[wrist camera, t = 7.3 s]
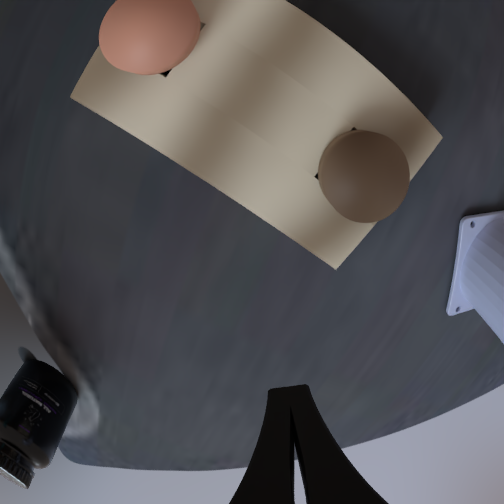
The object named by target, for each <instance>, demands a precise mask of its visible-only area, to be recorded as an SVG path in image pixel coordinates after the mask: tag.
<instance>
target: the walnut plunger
mask: <svg viewBox="0 0 504 504" xmlns="http://www.w3.org/2000/svg"><path fill="white" fill-rule="evenodd" d="M318 180H319V185H320V188H321V190H322V192H323V194H324V196H325V197H326V199H327V200H328V201H329V203H330V204H331V205H332V206H333V207H334V209H335V210H336V211H337V212H338V213H339V214H340V215H342V216H343V217H345V218H347V219H349V220H351V221H354V222H359V223H372V222H377V221H379V220H382V219H384V218H386V217H388V216H389V215H391V214H392V213H393V212H394V211H395V210H396V209H397V208H398V207H399V206H400V204H401V203H402V201H403V200H404V198H405V196H406V193H407V190H408V187H409V181H410V171H409V165H408V162H407V159H406V156H405V154H404V152H403V151H402V149H401V148H400V147H399V146H398V145H397V143H395V142H394V141H393V140H392V139H390V138H389V137H387V136H385V135H383V134H379V133H376V132H371V131H367V130H351V131H348V132H345V133H343V134H340V135H339V136H337V137H336V138H334V139H333V140H332V141H331V142H330V143H329V144H328V145H327V147H326V148H325V150H324V152H323V153H322V155H321V158H320V161H319V166H318Z"/></svg>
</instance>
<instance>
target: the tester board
mask: <svg viewBox="0 0 504 504" xmlns="http://www.w3.org/2000/svg"><path fill="white" fill-rule="evenodd" d="M191 1H192V3H193V5H194V6H195V8H196V10H197V12H198V14H199V18H200V24H201V28H200V30H201V31H200V35H199V38H198V41H197V43H196V45H195V47H194V49H193V50H192V52H191V53H190V54H189V56H188V57H187V58H186V59H185V60H184V61H182V62H181V63H180V64H179V65H177V66H176V67H174V68H172V70H171V71H170V73H169V74H168V75H167V76H166V75H165V74H163V73H159V74H155V75H139V74H135V73H131V72H127V71H124V70H121V69H118V68H116V67H115V66H113V65H112V64H110V63H109V62H108V61H107V59H106V58H105V57H104V55H103V53H102V51H101V48H100V45H99V46H98V48H97V50H96V51H95V53H94V55H93V56H92V58H91V60H90V61H89V63H88V65H87V66H86V68H85V70H84V72H83V74H82V75H81V77H80V79H79V81H78V83H77V85H76V86H75V88H74V90H73V92H72V94H71V96H70V98H72V99H74V100H75V101H77V102H79V103H80V104H82V105H84V106H86V107H87V108H89V109H91V110H92V111H94V112H96V113H97V114H99V115H101V116H102V117H104V118H106V119H107V120H109V121H111V122H112V123H114V124H116V125H117V126H119V127H120V128H122V129H124V130H125V131H127V132H129V133H130V134H132V135H134V136H135V137H137V138H138V139H140V140H142V141H143V142H145V143H146V144H148V145H150V146H151V147H153V148H154V149H156V150H158V151H159V152H161V153H162V154H164V155H166V156H167V157H169V158H170V159H172V160H173V161H175V162H177V163H178V164H180V165H181V166H183V167H184V168H186V169H188V170H189V171H191V172H192V173H194V174H195V175H197V176H198V177H200V178H202V179H203V180H205V181H206V182H208V183H209V184H211V185H212V186H214V187H215V188H217V189H218V190H220V191H221V192H223V193H224V194H226V195H228V196H229V197H231V198H232V199H234V200H235V201H237V202H238V203H240V204H241V205H243V206H244V207H246V208H247V209H249V210H250V211H252V212H253V213H255V214H256V215H258V216H259V217H260V218H262V219H263V220H265V221H266V222H268V223H269V224H271V225H272V226H274V227H275V228H277V229H278V230H280V231H281V232H283V233H284V234H285V235H287V236H288V237H290V238H291V239H293V240H294V241H296V242H297V243H299V244H300V245H301V246H303V247H304V248H306V249H307V250H309V251H310V252H312V253H313V254H314V255H316V256H317V257H319V258H320V259H322V260H323V261H324V262H326V263H327V264H329V265H330V266H331V267H333V268H334V269H337V268H338V267H339V266H340V264H341V263H342V262H343V261H344V260H345V259H346V258H347V256H348V255H349V254H350V253H351V252H352V251H353V250H354V248H355V247H356V246H357V245H358V244H359V243H360V242H361V240H362V239H363V238H364V237H365V236H366V235H367V233H368V232H369V231H370V230H371V229H372V227H373V226H374V225H375V224H376V223H377V222H372V223H359V222H354V221H351V220H349V219H347V218H345V217H343V216H342V215H340V214H339V213H338V212H337V211H336V210H335V209H334V207H333V206H332V205H331V204H330V203H329V201H328V200H327V199H326V197H325V196H324V194H323V192H322V190H321V188H320V185H319V180H318V177H317V176H316V174H317V173H318V166H319V161H320V158H321V155H322V153H323V152H324V150H325V148H326V147H327V145H328V144H329V143H330V142H331V141H332V140H333V139H334V138H336V137H337V136H339V135H340V134H343V133H345V132H348V131H351V130H367V131H371V132H376V133H379V134H383V135H385V136H387V137H389V138H390V139H392V140H393V141H394V142H395V143H397V145H398V146H399V147H400V148H401V149H402V151H403V152H404V154H405V156H406V159H407V162H408V165H409V171H410V180H411V179H412V178H413V177H414V175H415V174H416V173H417V171H418V170H419V169H420V167H421V166H422V165H423V164H424V162H425V161H426V160H427V158H428V157H429V156H430V154H431V153H432V152H433V150H434V149H435V147H436V146H437V145H438V143H439V142H440V141H441V139H442V138H443V137H442V136H441V135H440V134H439V132H438V131H437V130H436V129H435V128H434V127H433V125H432V124H431V123H430V122H429V121H428V120H427V119H426V117H425V116H424V115H423V114H422V113H421V112H420V111H419V110H418V109H417V108H416V107H415V106H414V104H413V103H412V102H411V101H410V100H409V99H408V98H407V97H406V96H405V95H404V94H403V93H402V92H401V91H400V90H399V89H398V88H397V87H396V86H395V85H394V84H393V83H392V82H391V81H389V80H388V79H387V78H386V77H385V76H384V75H383V74H382V73H381V72H380V71H379V70H378V69H376V68H375V67H374V66H373V65H372V64H371V63H370V62H369V61H367V60H366V59H365V58H364V57H363V56H362V55H360V54H359V53H358V52H357V51H356V50H354V49H353V48H352V47H351V46H349V45H348V44H347V43H346V42H344V41H343V40H342V39H341V38H339V37H338V36H337V35H335V34H334V33H333V32H331V31H330V30H329V29H327V28H326V27H325V26H323V25H322V24H320V23H319V22H318V21H316V20H315V19H313V18H312V17H310V16H309V15H307V14H306V13H304V12H303V11H301V10H300V9H298V8H297V7H295V6H294V5H292V4H290V3H289V2H287V1H286V0H191ZM409 182H410V181H409Z"/></svg>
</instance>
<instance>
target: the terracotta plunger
mask: <svg viewBox="0 0 504 504" xmlns="http://www.w3.org/2000/svg"><path fill="white" fill-rule="evenodd" d="M200 28H201V24H200V18H199V14H198V12H197V10H196V8H195V6H194V5H193V3H192V1H191V0H117V1H116V2H115V3H114V4H113V5H112V6H111V7H110V9H109V10H108V12H107V13H106V15H105V17H104V19H103V21H102V24H101V27H100V31H99V44H100V48H101V51H102V53H103V55H104V57H105V58H106V59H107V61H108V62H109V63H110V64H112V65H113V66H115V67H116V68H118V69H121V70H124V71H127V72H131V73H135V74H139V75H155V74H159V73H163V72H166V71H168V70H170V69H172V68H174V67H176V66H177V65H179V64H180V63H181V62H182V61H184V60H185V59H186V58H187V57H188V56H189V54H190V53H191V52H192V50H193V49H194V47H195V45H196V43H197V41H198V38H199V35H200Z"/></svg>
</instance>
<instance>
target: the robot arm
mask: <svg viewBox="0 0 504 504" xmlns="http://www.w3.org/2000/svg"><path fill="white" fill-rule="evenodd" d="M472 221H473V222H472ZM471 222H472V224H471ZM470 224H471V225H470ZM471 309H475V310H476V311H477V312H478V313H479V314H480V316H481V317H482V318H483V319H484V320H485V321H486V323H487V324H488V325H489V326H490V327H491V329H492V330H493V331H494V332H495V333H496V335H497V336H498V337H499V338H500V340H501V341H502V342H503V343H504V210H503V211H497V212H490V213H483V214H477V215H470V216H465V217H463V218H462V219H461V221H460V227H459V236H458V245H457V252H456V260H455V266H454V272H453V278H452V284H451V289H450V295H449V299H448V304H447V309H446V312H447V313H448V315H450V316H452V315H455V314H458V313H462V312H465V311H468V310H471ZM294 443H295V447H296V452H297V457H298V462H299V466H300V471H301V476H302V480H303V485H304V489H305V495H306V503H307V504H388V503H387V502H386V501H385V500H384V499H383V498H382V497H381V496H380V495H379V494H378V493H377V492H376V491H375V490H374V489H373V488H372V487H371V486H370V485H369V484H368V483H367V482H366V481H365V479H364V478H363V477H362V476H361V475H360V474H359V472H358V471H357V470H356V469H355V467H354V466H353V465H352V464H351V462H350V461H349V460H348V458H347V457H346V456H345V454H344V453H343V451H342V450H341V448H340V447H339V445H338V444H337V442H336V441H335V439H334V438H333V436H332V434H331V433H330V431H329V429H328V428H327V426H326V424H325V423H324V421H323V419H322V417H321V415H320V413H319V411H318V409H317V407H316V404H315V402H314V400H313V397H312V395H311V392H310V389H309V386H308V385H306V384H304V385H297V386H289V387H281V388H273V389H270V390H269V391H268V399H267V406H266V412H265V416H264V421H263V425H262V428H261V432H260V435H259V439H258V442H257V445H256V448H255V450H254V453H253V456H252V458H251V461H250V463H249V466H248V468H247V470H246V473H245V475H244V477H243V479H242V481H241V483H240V485H239V487H238V489H237V491H236V492H235V494H234V496H233V498H232V500H231V501H230V503H229V504H295V502H294Z"/></svg>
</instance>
